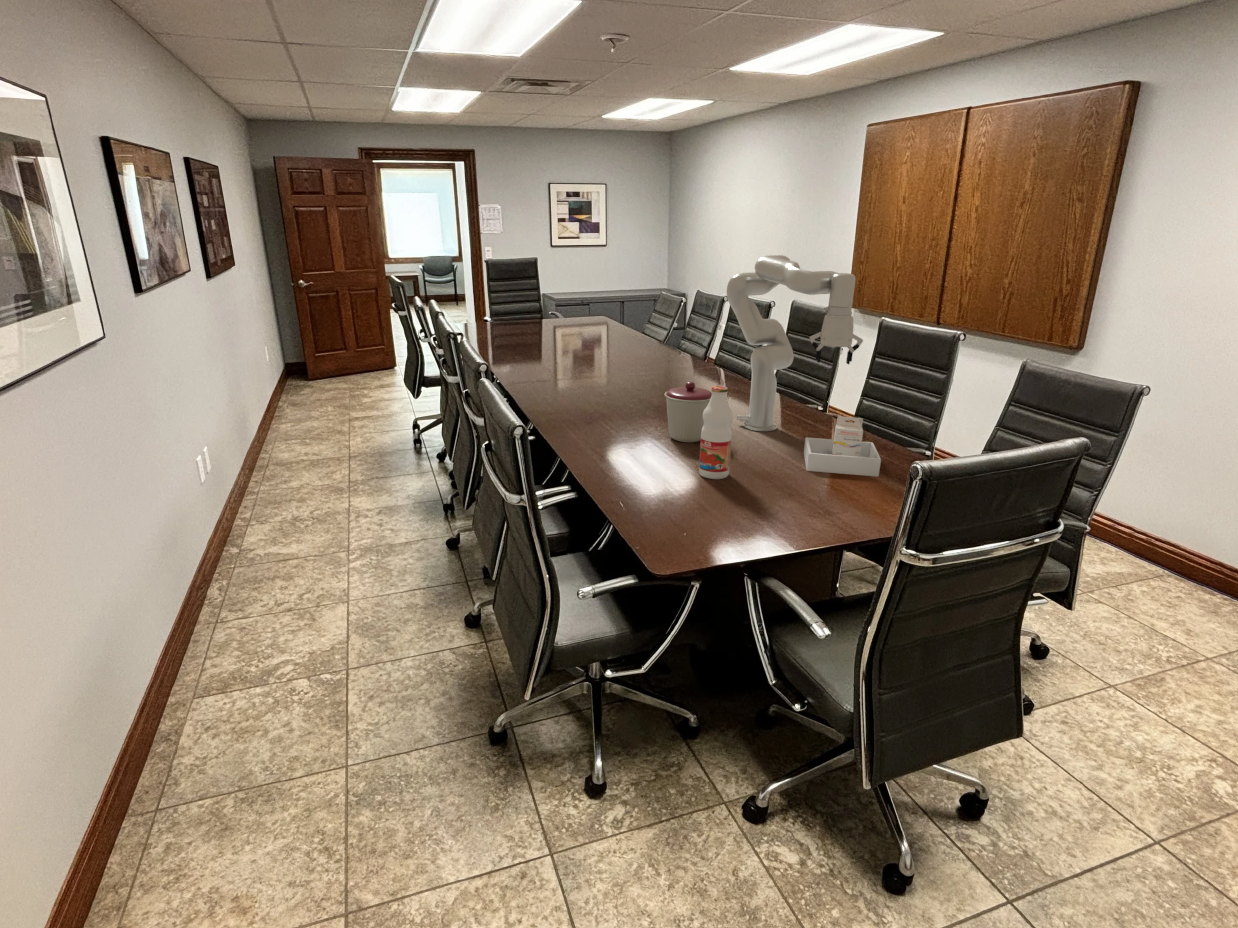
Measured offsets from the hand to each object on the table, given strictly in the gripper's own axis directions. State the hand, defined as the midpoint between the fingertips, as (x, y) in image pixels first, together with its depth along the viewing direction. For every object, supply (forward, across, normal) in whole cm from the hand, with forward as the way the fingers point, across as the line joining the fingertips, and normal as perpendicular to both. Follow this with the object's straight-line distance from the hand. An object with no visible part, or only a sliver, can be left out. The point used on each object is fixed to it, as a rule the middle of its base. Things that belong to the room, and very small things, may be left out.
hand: (833, 362), depth 235 cm
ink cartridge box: (+30, +6, -18) cm, 35 cm away
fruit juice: (+31, -36, -38) cm, 61 cm away
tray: (+30, +4, -18) cm, 35 cm away
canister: (+31, -48, -2) cm, 57 cm away
